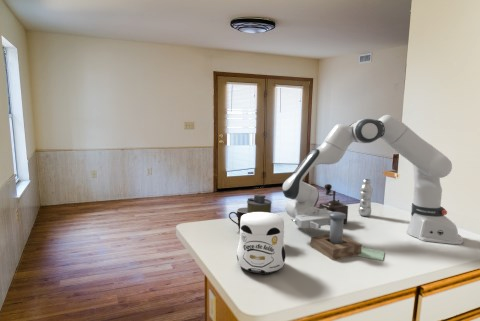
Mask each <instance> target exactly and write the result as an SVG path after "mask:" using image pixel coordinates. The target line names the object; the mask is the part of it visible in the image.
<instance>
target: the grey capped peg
mask: <svg viewBox="0 0 480 321" xmlns="http://www.w3.org/2000/svg"><path fill="white" fill-rule="evenodd" d="M329 217H330V218H331V222H330V225H329V234H330V239H329V242H330V243H332V244H334V245H337V244H342V238H343V236H344V225H343V223H344V219H345V218H346V214H344V213H341V212H330V213H329Z"/></svg>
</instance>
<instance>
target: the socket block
mask: <svg viewBox="0 0 480 321" xmlns="http://www.w3.org/2000/svg"><path fill="white" fill-rule="evenodd" d="M329 239H330V233H328V234H324V235H322V234H321V235H317V236H311V238H310V247H311V248H312V249H314V250H316V251H317V252H319V253H320V254H322V255H323V256H325V257H327V258H329V259H330V260H332V261H335V260H339V259H345V258H349V257H350V258H351V257H354V256H355V257H356V256H358V254H361V248H363V245H362V244H361V243H359V242H357V241H355V240H353V239H351V238H349V237H347V236H345V235H343V238H342V244H337V245H334V244H332V243H330V242H329Z"/></svg>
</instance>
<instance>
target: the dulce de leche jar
mask: <svg viewBox="0 0 480 321" xmlns="http://www.w3.org/2000/svg"><path fill="white" fill-rule="evenodd" d="M284 235H285V219H284V218H283V216H281V215H279V214H276V213H273V212H271V213H268V212H252V213H247V214H244V215H242V216H241V220H240V232H239V241H238V246H237V250H236V259H237V263H238V265H239V266H240V268H242V269H243V270H244V271H247V272H251V273H253V274H254V273H255V274H271V273H276V272H278V271H279V270H280V269H282V268H283V267H284V264H285V261H286V249H285V244H284V238H285V236H284Z"/></svg>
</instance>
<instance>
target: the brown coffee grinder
mask: <svg viewBox="0 0 480 321" xmlns="http://www.w3.org/2000/svg"><path fill="white" fill-rule="evenodd" d="M332 188H333V187H332V184H330V183H328V184H327V183H326V184H324V190H326V191H325V194H324V195H325V196H330V197H331V196H332V200H329V201H327V202H322V203H319V207H322V208H326V209H327V210H329V211H332V212H341V213H344V214H346V218H345V219H344V223H343V226H344V225H347V224H348V217H349V216H348V215H349V206H348V205H346V204H344V203H343V202H340V199H337V200H336V195H337V194H336V190H333V191H331V190H332ZM332 192H333V193H332Z"/></svg>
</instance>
